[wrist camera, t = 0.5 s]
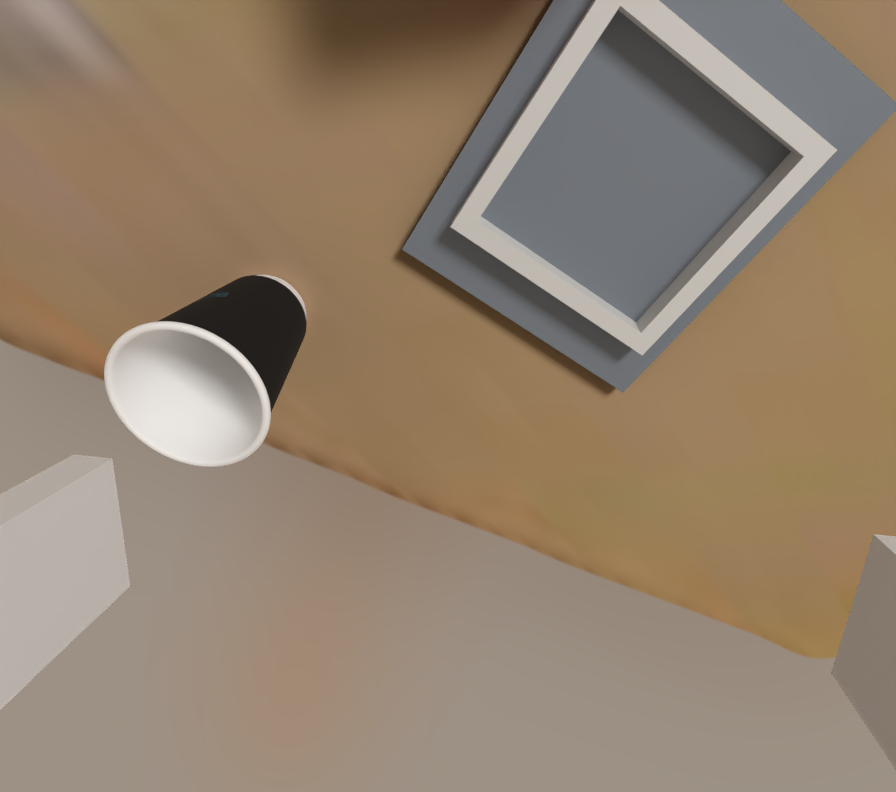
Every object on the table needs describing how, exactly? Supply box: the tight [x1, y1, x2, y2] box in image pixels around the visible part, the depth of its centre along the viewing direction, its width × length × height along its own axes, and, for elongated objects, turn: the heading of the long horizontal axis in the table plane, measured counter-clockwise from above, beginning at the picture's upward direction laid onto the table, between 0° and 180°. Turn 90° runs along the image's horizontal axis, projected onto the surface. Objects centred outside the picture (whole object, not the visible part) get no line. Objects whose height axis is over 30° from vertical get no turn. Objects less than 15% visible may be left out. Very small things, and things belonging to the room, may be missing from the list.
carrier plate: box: [402, 0, 896, 392], centre depth 30 cm, size 19×16×2 cm
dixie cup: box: [104, 275, 307, 467], centre depth 32 cm, size 8×8×11 cm
